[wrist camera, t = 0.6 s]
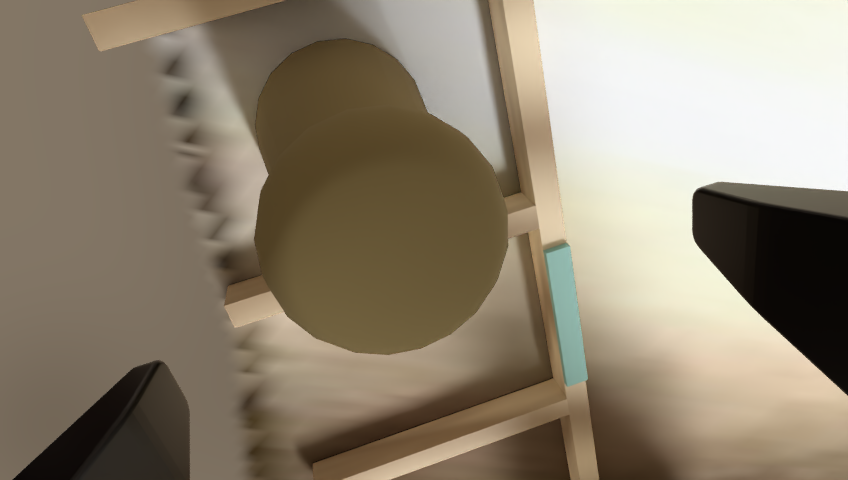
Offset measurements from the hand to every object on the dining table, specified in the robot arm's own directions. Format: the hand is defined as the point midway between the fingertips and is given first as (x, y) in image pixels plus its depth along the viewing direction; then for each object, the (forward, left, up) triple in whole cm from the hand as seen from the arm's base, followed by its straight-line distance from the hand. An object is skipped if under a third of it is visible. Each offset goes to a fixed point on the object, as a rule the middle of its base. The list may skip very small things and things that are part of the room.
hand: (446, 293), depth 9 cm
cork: (0, +1, -13) cm, 13 cm away
